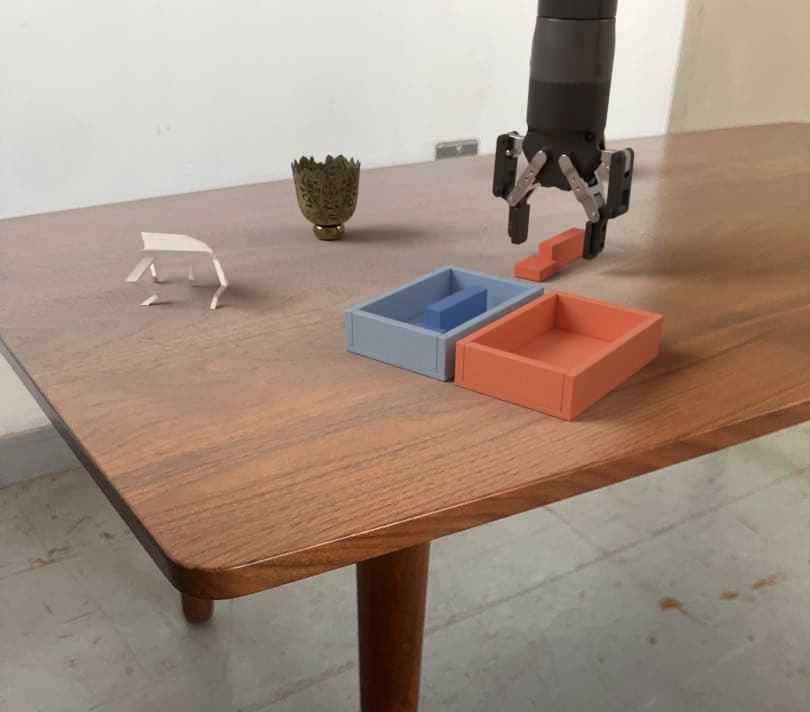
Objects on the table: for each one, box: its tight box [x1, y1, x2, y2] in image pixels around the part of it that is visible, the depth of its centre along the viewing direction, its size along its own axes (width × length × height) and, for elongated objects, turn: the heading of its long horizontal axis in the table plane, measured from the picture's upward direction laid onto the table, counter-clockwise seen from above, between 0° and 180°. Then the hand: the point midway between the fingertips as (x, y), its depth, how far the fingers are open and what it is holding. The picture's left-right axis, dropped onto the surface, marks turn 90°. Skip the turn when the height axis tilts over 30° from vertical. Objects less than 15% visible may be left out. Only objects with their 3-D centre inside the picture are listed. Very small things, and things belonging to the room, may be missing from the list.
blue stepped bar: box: [414, 285, 488, 334], centre depth 77 cm, size 10×3×3 cm, turn 142°
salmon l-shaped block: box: [513, 227, 585, 283], centre depth 93 cm, size 10×3×3 cm, turn 142°
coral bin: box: [454, 289, 665, 422], centre depth 72 cm, size 10×15×4 cm
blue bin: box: [344, 264, 545, 382], centre depth 77 cm, size 10×15×4 cm
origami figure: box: [124, 231, 230, 310], centre depth 85 cm, size 12×8×5 cm
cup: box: [290, 154, 361, 241], centre depth 100 cm, size 8×7×8 cm
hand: (553, 250), depth 93 cm, fingers open, 8 cm apart
